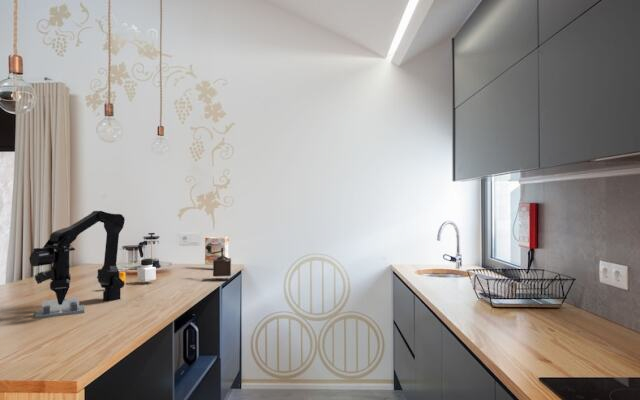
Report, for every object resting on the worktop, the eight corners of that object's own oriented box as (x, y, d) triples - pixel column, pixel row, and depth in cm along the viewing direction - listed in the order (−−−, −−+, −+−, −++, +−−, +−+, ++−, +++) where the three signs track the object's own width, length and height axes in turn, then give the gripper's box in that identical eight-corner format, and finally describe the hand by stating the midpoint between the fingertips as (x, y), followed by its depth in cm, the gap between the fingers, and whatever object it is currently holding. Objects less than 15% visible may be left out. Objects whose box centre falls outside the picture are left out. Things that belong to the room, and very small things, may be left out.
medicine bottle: (156, 279, 225) (156, 258, 225) (144, 281, 219) (144, 260, 219) (148, 278, 229) (148, 257, 229) (137, 280, 223) (137, 259, 223)
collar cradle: (84, 307, 166) (84, 298, 166) (84, 312, 157) (84, 303, 157) (37, 312, 158) (37, 303, 158) (35, 318, 149) (35, 309, 149)
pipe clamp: (117, 283, 214) (117, 272, 214) (125, 284, 214) (125, 272, 214) (103, 288, 202) (103, 276, 202) (111, 288, 202) (111, 276, 202)
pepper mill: (231, 272, 247) (231, 244, 247) (230, 276, 236) (230, 246, 237) (205, 273, 244) (205, 244, 244) (203, 276, 233) (203, 246, 234)
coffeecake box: (204, 265, 278) (204, 237, 278) (209, 263, 285) (209, 236, 285) (224, 265, 276) (224, 237, 276) (228, 264, 283) (228, 236, 283)
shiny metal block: (77, 306, 163) (77, 296, 163) (78, 308, 159) (78, 298, 159) (42, 311, 155) (42, 300, 155) (42, 313, 152) (42, 302, 152)
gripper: (38, 261, 161) (38, 299, 161) (33, 267, 145) (33, 310, 145) (70, 259, 167) (70, 296, 167) (69, 265, 151) (69, 306, 151)
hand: (60, 302), depth 157 cm, fingers open, 9 cm apart
